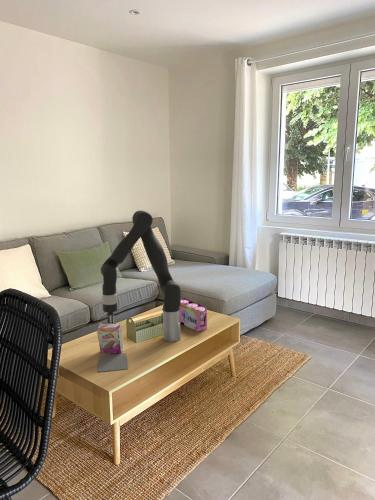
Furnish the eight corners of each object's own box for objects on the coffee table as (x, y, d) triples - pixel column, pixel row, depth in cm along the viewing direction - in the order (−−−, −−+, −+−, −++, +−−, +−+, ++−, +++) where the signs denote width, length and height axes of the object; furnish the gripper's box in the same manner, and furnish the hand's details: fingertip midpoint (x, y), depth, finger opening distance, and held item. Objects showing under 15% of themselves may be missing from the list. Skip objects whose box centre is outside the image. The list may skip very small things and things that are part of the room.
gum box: (209, 329, 231) (209, 307, 229) (198, 332, 227) (198, 310, 224) (184, 317, 250) (184, 297, 247) (174, 320, 245) (174, 300, 242)
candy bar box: (100, 353, 201) (96, 328, 194) (102, 347, 206) (98, 322, 198) (121, 354, 200) (118, 329, 193) (123, 347, 205) (120, 323, 197)
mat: (126, 353, 201) (126, 353, 201) (127, 369, 186) (127, 368, 185) (98, 356, 198) (98, 355, 198) (97, 372, 183) (97, 371, 183)
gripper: (117, 305, 196) (118, 337, 199) (117, 297, 208) (118, 327, 212) (102, 306, 194) (103, 338, 198) (102, 298, 207) (104, 328, 210)
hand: (111, 332), depth 205 cm, fingers closed
